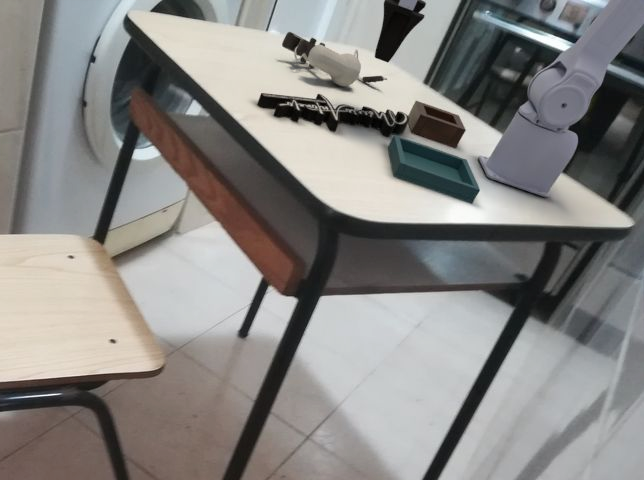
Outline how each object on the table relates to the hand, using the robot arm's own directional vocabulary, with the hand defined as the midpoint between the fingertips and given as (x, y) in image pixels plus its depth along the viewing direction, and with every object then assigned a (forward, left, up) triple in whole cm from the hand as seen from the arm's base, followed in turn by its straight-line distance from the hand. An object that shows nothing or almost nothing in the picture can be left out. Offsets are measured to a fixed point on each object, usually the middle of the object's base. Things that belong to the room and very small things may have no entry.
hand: (382, 53), depth 96 cm
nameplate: (+2, +2, -10) cm, 11 cm away
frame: (-13, -7, -10) cm, 18 cm away
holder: (-10, +13, -10) cm, 19 cm away
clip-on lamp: (+4, -19, -10) cm, 22 cm away
